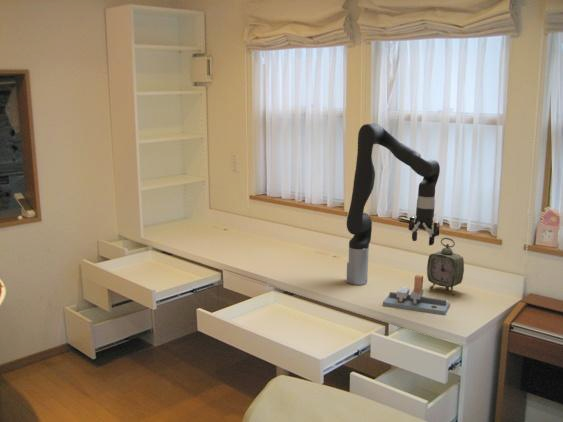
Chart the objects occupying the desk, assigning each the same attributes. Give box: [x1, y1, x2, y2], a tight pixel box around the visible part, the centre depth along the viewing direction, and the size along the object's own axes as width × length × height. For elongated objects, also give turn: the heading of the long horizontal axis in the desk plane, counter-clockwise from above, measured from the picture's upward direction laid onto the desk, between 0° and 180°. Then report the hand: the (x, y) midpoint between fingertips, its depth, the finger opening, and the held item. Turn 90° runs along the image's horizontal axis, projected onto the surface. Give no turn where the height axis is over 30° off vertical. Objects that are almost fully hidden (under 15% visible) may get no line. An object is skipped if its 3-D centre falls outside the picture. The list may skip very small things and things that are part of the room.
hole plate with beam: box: [382, 286, 451, 316], centre depth 264 cm, size 26×12×6 cm, turn 66°
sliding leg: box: [410, 274, 424, 304], centre depth 263 cm, size 4×8×10 cm, turn 156°
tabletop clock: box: [426, 237, 465, 296], centre depth 281 cm, size 14×9×25 cm, turn 45°
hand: (422, 242), depth 268 cm, fingers open, 8 cm apart
